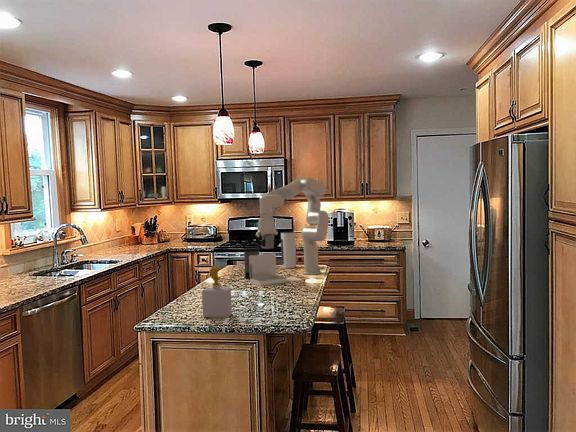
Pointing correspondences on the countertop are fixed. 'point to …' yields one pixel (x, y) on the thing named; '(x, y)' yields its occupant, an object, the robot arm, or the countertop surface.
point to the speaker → (288, 250)
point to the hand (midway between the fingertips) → (267, 245)
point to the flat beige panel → (293, 279)
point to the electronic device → (248, 253)
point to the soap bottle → (216, 298)
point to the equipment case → (264, 270)
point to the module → (268, 241)
